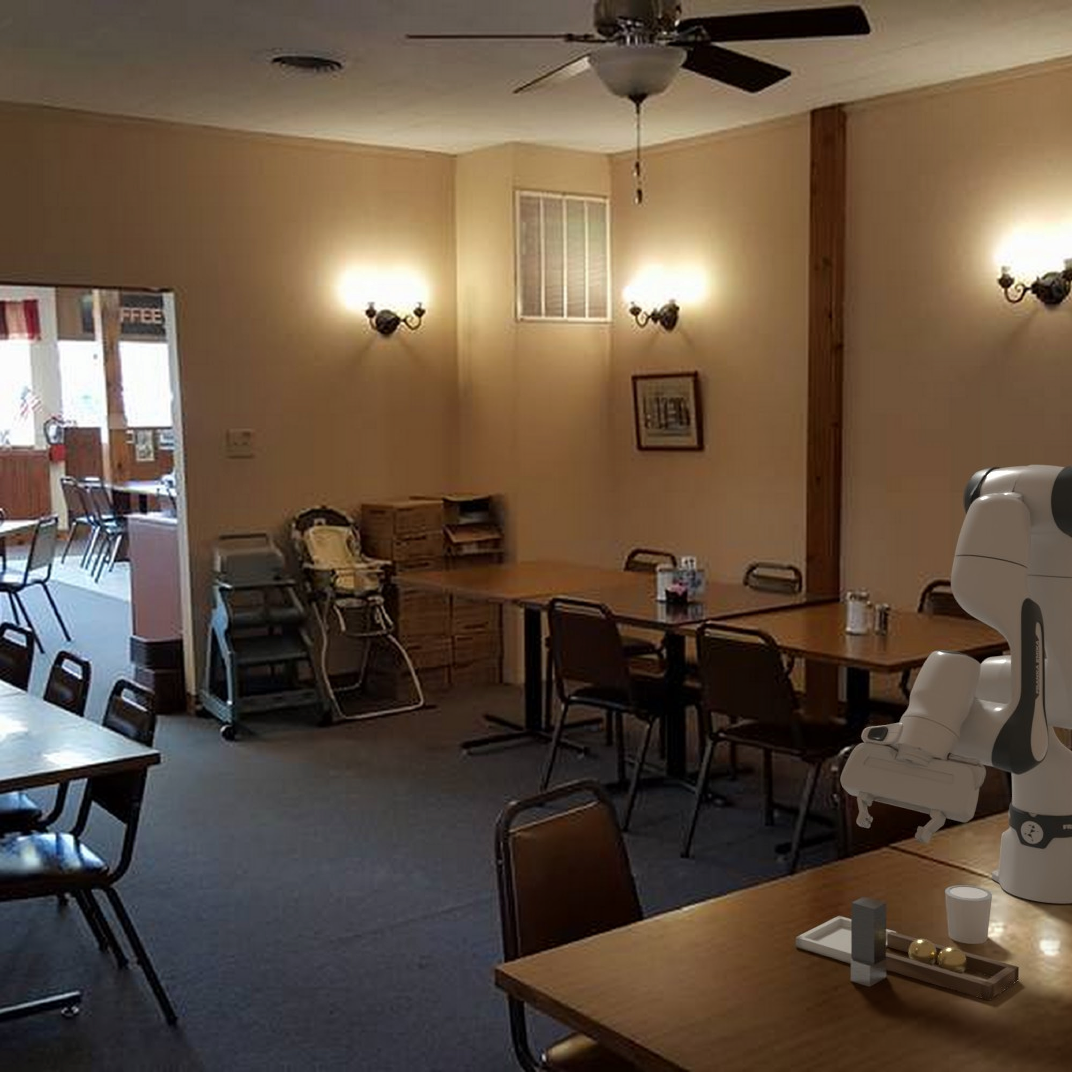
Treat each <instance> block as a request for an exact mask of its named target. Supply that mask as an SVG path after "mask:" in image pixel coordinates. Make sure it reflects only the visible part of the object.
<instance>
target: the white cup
mask: <svg viewBox="0 0 1072 1072" xmlns="http://www.w3.org/2000/svg"><path fill="white" fill-rule="evenodd" d="M944 895H945V896H944V897H945V907H946V908H945V909H946V920H947V931H948V932H947V933H948V937H949V938H950V939H951V940H953V941H954V942H958V943H962V944H967V945H978V944H984V943H985V942H987V941H988V937H989V936H988V935H989V925H990V917H991V909H992V908H991V907H992V898H993V893H992V892H991V891H989V890H987V889H985V888H983V887H979V886H974V885H965V884H963V885H962V884H961V885H959V884H958V885H952V886H949V887H947V888H945V890H944Z"/></svg>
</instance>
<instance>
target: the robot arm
mask: <svg viewBox="0 0 1072 1072" xmlns="http://www.w3.org/2000/svg"><path fill="white" fill-rule="evenodd" d="M962 501H963V509H964V512H965V517H964V519H963V523H962V526H961V529H960V532H959V535H958V538H957V543H956V547H955V551H954V557H953V563H952V568H951V575H950V590H951V592H952V595H953V597H954V599H955V601H956V603H958V605H959V606H960V607H961V608H962V610H964V611H965V612H966V613H967V614H969V615H970V616H971V617H973V618H975V619H977V620H978V621H980V622H981V623H983V624H986V625H987V626H989V627H991V628H992V629H994V630H996V631H997V632H999V634H1001V635H1002V636H1003V637H1004V638H1005V640H1006V642H1007V644H1008V647H1009V650H1010V655H998V656H990V657H987V658H985V659H983V661H982V662H981V663H980V662H979V661H978V660H977V659H975V657H973V656H970V655H968V654H966V653H962V652H960V651H954V650H946V649H939V650H935V651H932V652H931V653H930V654H929V656H928V657H927V659H926V660H925V661H924V663H923V665H922V666H921V668H920V670H919V673H918V675H917V676H916V678H915V681H914V683H913V687H912V689H911V692H910V695H909V703H908V704H909V705H908V706H907V709H906V710H905V712H904V713H903V714H902V716H901V717H900V720H899V722H896V723H890V724H886V725H884V724H883V725H877V726H876V725H874V726H868V727H866V728H864V729H863V730H862V732H861V736H860V737H861V740H862V741H863V742H861V743H858V745H856V746H855V747H854V749H852V751H851V753H850V754H849V757H848V758H847V760H846V762H845V765H844V767H843V769H842V772H841V775H840V784H841V786H842V788H843V789H844V791H846V792H847V793H848V794H849V795H851V796H853V797H857V798H856V802H857V806H858V811H859V812H858V815H857V817H856V820H855V821H856V824H857V825H858V826H859V827H861V828H866V829H869V828H871V824H872V823H873V820H874V818H873V816H871V815H870V814H869V811H868V807H871V806H872V804H873V803H874V802H878V803H883V804H886V805H890V806H895V807H900V808H904V809H907V810H912V811H915V812H920V813H923V814H928V815H929V816H930V818H931V819H930V820H929V821H928V822H927V823H926V824H925V825H924V826H920V825H919V826H917V829H916V832H915V834H914V837H915V838H914V839H915V840H917V842H920V843H923V844H927V845H928V844H929V843H930V841H931V838H932V835H933V834H934V833H936V832H938V830H939V829H940V828H942V827H943V826H944V825H945V823H946V819H948V820H952V821H957V822H960V823H967V822H969V821H970V820H972V819H973V818H974V815H975V812H976V809H977V804H978V800H979V794H980V793H979V792H980V788H981V787H982V785H983V784H984V781H985V779H986V775H987V770H986V769H987V768H986V766H987V767H993V768H994V769H998V770H1001V771H1004V772H1007V773H1010V774H1011V794H1012V795H1011V796H1012V797H1011V802H1010V803H1009V807H1008V815H1007V816H1008V825H1009V828H1008V829H1006V830H1005V831H1003V832H1002V834H1001V837H1000V838H1001V839H1000V851H999V858H998V859H999V862H998V869H995V870H993V871H991V876H990V877H991V879H992V880H993V881H995V882H997V883H999V885H1000V887H1001V888H1002V889H1003V891H1005V892H1007V893H1009V894H1010V895H1013V896H1016V897H1018V898H1022V899H1025V900H1029V901H1033V902H1034V901H1035V902H1041V903H1048V904H1050V903H1051V904H1072V750H1071V749H1069V748H1068V747H1066V746H1065V744H1063V743H1062V741H1061V740H1060V739H1059V738H1058V736H1057V734H1056V732H1055V729H1054V727H1055V728H1062V729H1068V730H1072V465H1068V466H1059V465H1049V464H1029V465H1019V466H1018V465H1017V466H1009V467H999V466H994V467H993V466H992V467H988V468H984V469H980V470H978V471H976V472H975V473H974V474H973V475H972V477H971V478H970V479H969V480H968V482H967V483H966V485H965V488H964V491H963V498H962ZM873 801H874V802H873Z"/></svg>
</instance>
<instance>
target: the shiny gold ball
mask: <svg viewBox="0 0 1072 1072" xmlns="http://www.w3.org/2000/svg"><path fill="white" fill-rule="evenodd" d="M933 943H934V942H932V941H930V940H928V939H925V938H917V940H915V941H913V942H912V943H911V945H910V947H909V950H908V953H907V954H908V959H911V960H914V961H918V962H921V963H924V964H928V965H931V966H934V964H935V963H936V962H937V961H936V959H937V950H936V947H935V946H934V944H933Z"/></svg>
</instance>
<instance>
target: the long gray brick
mask: <svg viewBox="0 0 1072 1072" xmlns="http://www.w3.org/2000/svg"><path fill="white" fill-rule="evenodd" d="M850 912H851V913H850V914H851V918H850V919H851V958H852V960H851V964H850V981H851V982H853V983H856V984H859V985H862V986H865V987H869V988H870V987H871V986H873V985H875V984H877V983H879V982H880V981H881V982H882V980H884V979H886V978H887V970H886V952H887V947H886V929H887V902H884V901H881V900H877V899H873V898H868V897H867V896H866V897H864V896H863V897H860V898H858V899H856V900H854V901H852V902H851V911H850Z"/></svg>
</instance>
